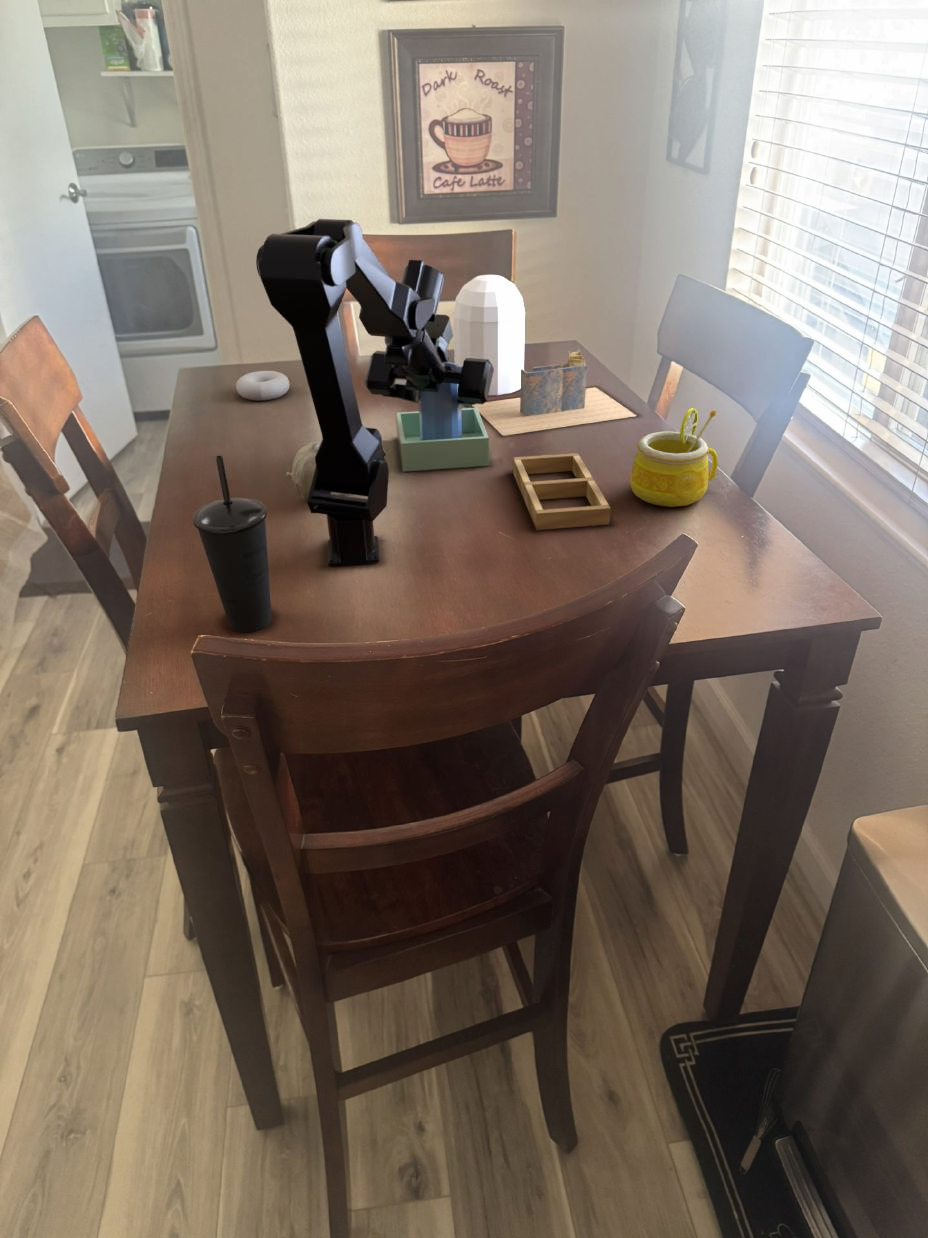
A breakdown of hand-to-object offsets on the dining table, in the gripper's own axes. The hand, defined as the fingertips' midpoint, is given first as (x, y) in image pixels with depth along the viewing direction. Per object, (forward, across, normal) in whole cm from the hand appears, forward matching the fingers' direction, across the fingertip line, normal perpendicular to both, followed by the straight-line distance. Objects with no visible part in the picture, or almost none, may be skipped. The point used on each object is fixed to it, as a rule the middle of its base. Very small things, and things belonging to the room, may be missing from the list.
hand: (443, 402), depth 135 cm
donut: (+17, +42, -6) cm, 46 cm away
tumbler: (+4, 0, +6) cm, 7 cm away
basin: (+4, 0, +6) cm, 8 cm away
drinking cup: (-32, +5, +44) cm, 55 cm away
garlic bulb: (-10, +11, +21) cm, 26 cm away
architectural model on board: (+21, -13, -10) cm, 27 cm away
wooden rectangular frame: (-3, -22, +14) cm, 26 cm away
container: (+29, +2, -17) cm, 34 cm away
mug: (0, -38, +11) cm, 39 cm away
